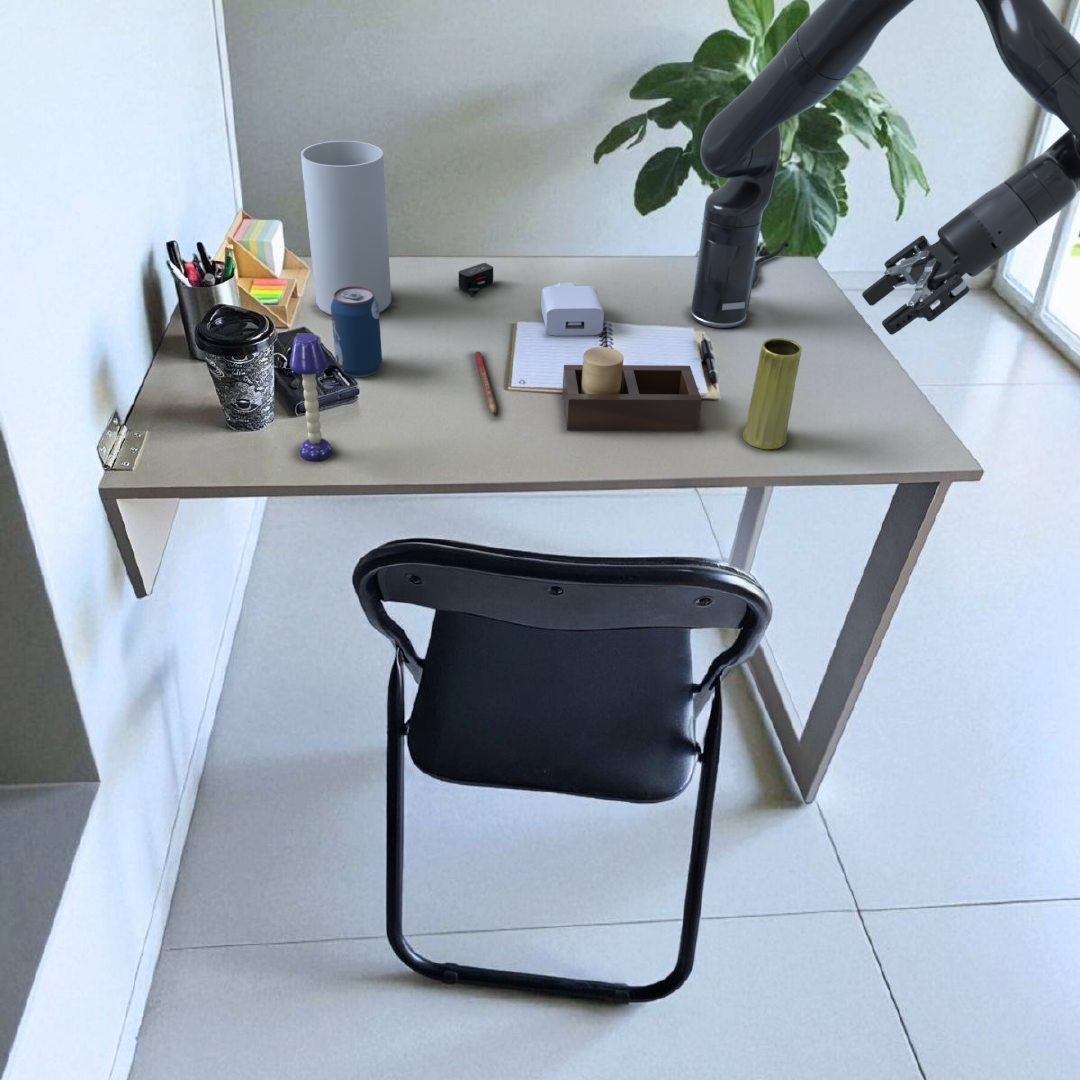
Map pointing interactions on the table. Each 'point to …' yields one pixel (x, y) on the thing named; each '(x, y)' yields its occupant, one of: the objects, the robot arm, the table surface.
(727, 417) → the table surface
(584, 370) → the peg
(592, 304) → the charger
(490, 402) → the pencil
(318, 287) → the cylinder vase
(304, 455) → the toy lamp
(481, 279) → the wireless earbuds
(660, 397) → the rack
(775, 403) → the vase
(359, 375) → the soda can
